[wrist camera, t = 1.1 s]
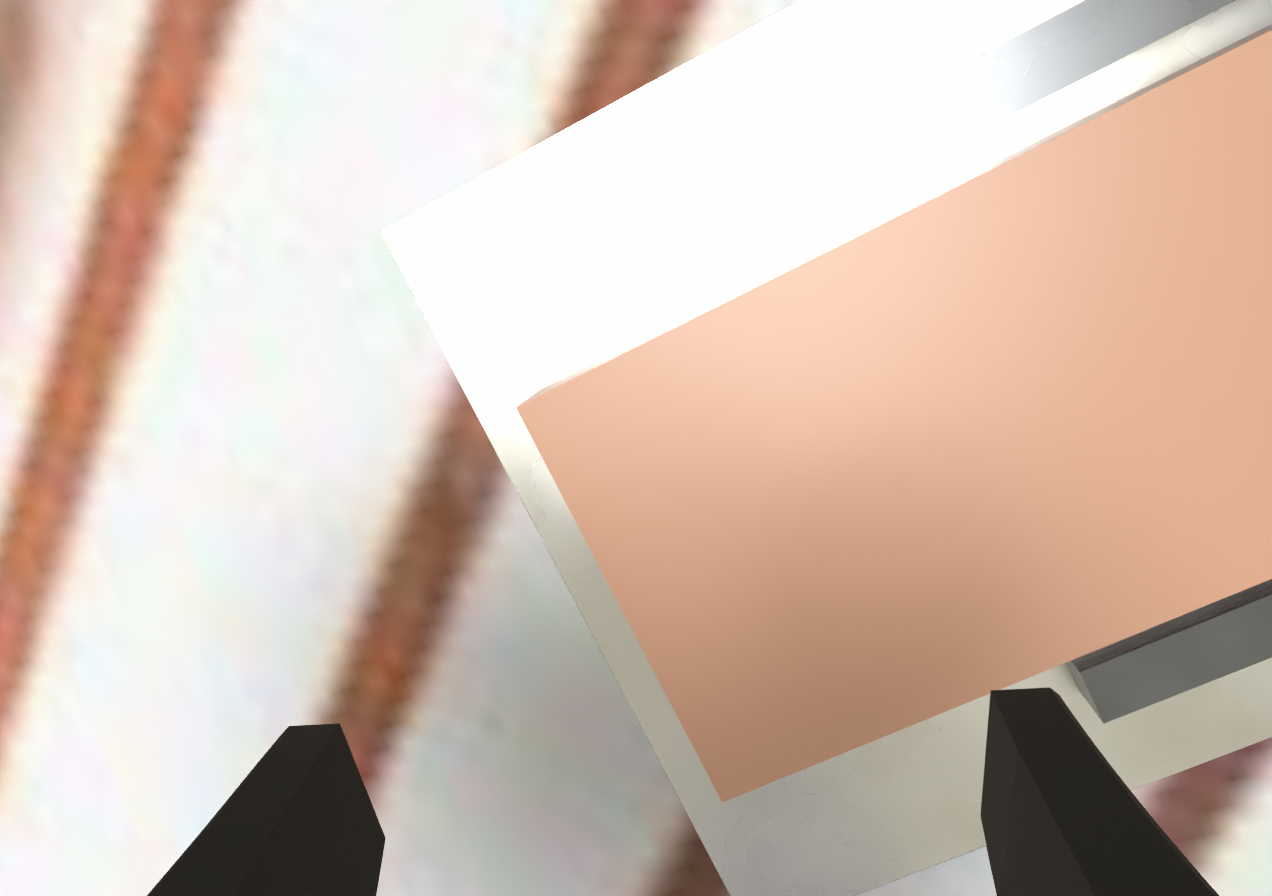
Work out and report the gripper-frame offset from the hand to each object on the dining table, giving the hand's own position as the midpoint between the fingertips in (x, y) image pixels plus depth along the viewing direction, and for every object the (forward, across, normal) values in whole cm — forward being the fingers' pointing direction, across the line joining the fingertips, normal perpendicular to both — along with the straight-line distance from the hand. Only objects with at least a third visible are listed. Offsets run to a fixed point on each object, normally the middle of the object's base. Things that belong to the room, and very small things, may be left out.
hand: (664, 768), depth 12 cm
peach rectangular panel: (+11, -6, +3) cm, 13 cm away
